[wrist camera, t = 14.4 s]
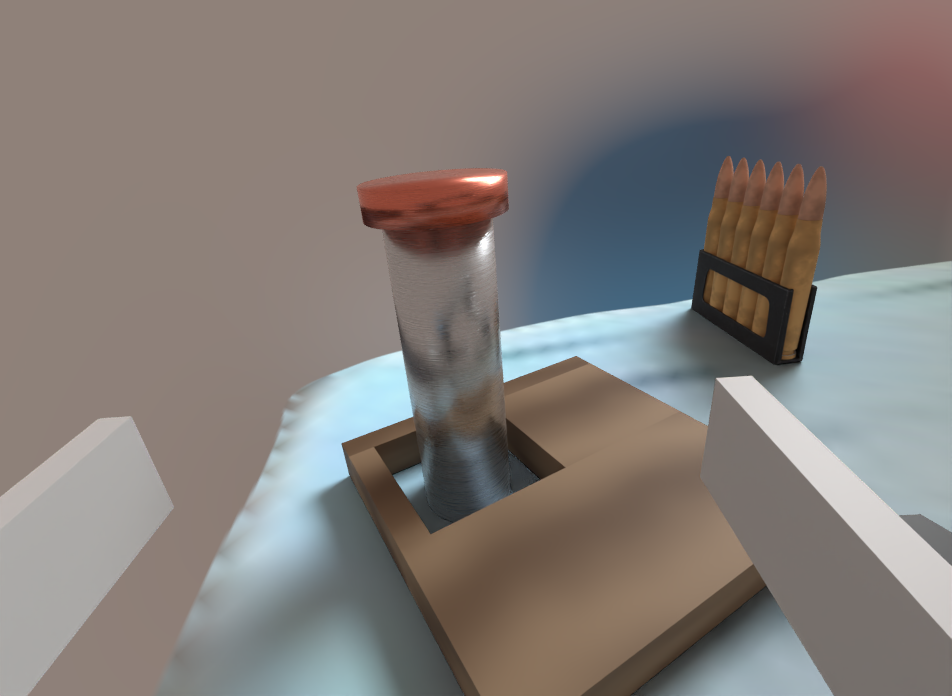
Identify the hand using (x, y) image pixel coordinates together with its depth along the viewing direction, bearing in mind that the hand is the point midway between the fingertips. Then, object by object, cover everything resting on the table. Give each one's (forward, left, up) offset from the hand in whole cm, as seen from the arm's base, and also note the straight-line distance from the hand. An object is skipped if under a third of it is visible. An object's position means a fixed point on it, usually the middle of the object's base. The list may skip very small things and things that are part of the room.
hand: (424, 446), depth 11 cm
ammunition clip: (+10, -29, -9) cm, 33 cm away
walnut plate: (+4, -7, -9) cm, 13 cm away
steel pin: (+7, -4, -9) cm, 13 cm away
